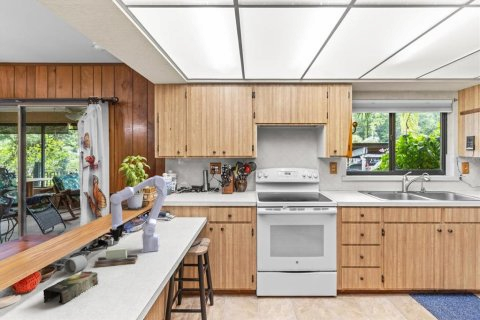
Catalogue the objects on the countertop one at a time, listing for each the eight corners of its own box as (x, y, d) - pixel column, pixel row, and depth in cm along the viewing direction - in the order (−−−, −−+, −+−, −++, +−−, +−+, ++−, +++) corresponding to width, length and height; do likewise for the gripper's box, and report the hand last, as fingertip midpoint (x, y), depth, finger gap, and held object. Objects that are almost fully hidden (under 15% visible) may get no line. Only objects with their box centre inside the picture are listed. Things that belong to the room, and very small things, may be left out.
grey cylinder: (89, 268, 151) (88, 253, 150) (76, 275, 143) (75, 259, 143) (72, 267, 154) (71, 252, 153) (59, 274, 146) (57, 258, 145)
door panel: (127, 258, 159) (126, 247, 159) (126, 260, 157) (125, 249, 157) (107, 260, 158) (106, 249, 158) (106, 262, 156) (105, 250, 156)
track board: (138, 257, 164) (137, 252, 164) (134, 263, 155) (134, 258, 155) (99, 261, 161) (99, 256, 160) (94, 267, 152) (93, 262, 152)
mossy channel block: (83, 281, 136) (82, 268, 136) (101, 283, 133) (100, 270, 133) (43, 304, 117) (41, 288, 117) (62, 307, 114) (61, 291, 114)
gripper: (112, 213, 174) (113, 235, 174) (105, 218, 160) (106, 243, 160) (125, 212, 175) (126, 234, 176) (119, 217, 161) (120, 242, 161)
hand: (118, 239), depth 168 cm, fingers open, 7 cm apart
